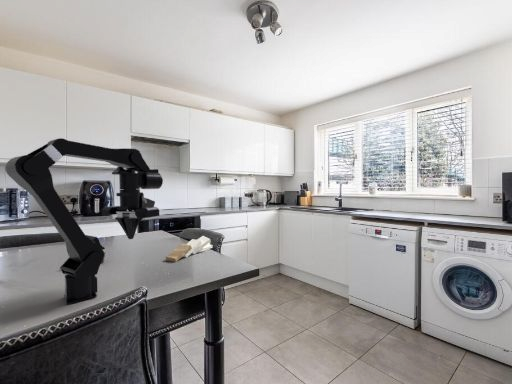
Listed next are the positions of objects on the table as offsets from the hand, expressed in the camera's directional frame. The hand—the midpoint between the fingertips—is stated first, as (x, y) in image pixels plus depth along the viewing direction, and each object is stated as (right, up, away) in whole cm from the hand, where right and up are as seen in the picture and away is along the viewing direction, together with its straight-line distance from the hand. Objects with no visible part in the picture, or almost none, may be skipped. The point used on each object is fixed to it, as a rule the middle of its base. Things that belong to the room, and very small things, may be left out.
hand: (130, 238), depth 80 cm
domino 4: (+12, -10, +35) cm, 39 cm away
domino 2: (+8, -12, +26) cm, 29 cm away
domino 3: (+11, -11, +31) cm, 34 cm away
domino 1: (+6, -12, +20) cm, 24 cm away
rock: (-24, -13, +16) cm, 32 cm away
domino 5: (+12, -12, +35) cm, 38 cm away
